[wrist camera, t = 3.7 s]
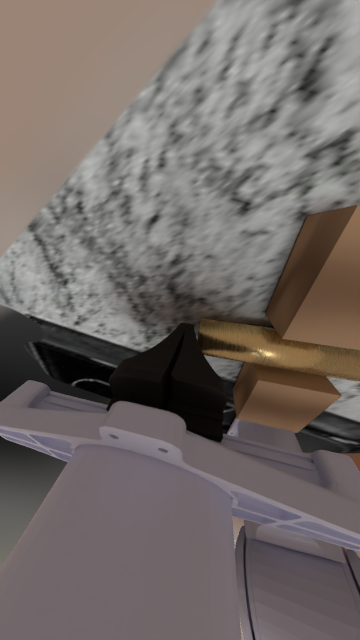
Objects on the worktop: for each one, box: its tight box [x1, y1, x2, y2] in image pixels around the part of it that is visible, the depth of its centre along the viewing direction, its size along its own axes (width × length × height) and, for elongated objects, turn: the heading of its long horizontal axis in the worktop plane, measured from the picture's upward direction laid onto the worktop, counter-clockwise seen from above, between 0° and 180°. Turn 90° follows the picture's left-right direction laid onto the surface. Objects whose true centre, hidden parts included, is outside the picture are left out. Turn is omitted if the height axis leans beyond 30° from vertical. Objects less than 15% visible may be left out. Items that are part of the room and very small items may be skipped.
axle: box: [197, 318, 360, 381], centre depth 12 cm, size 12×3×3 cm, turn 88°
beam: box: [233, 205, 360, 433], centre depth 11 cm, size 18×6×3 cm, turn 178°
